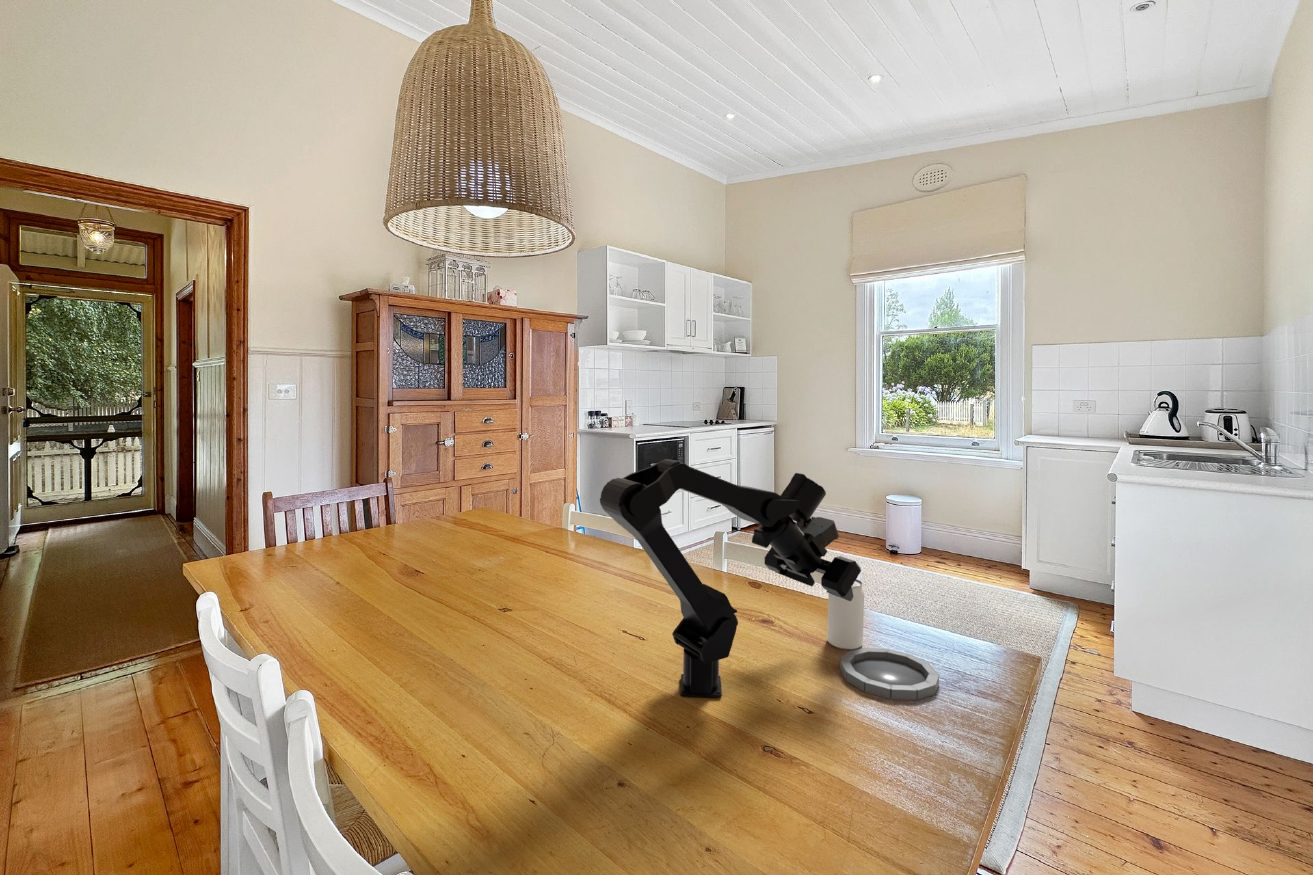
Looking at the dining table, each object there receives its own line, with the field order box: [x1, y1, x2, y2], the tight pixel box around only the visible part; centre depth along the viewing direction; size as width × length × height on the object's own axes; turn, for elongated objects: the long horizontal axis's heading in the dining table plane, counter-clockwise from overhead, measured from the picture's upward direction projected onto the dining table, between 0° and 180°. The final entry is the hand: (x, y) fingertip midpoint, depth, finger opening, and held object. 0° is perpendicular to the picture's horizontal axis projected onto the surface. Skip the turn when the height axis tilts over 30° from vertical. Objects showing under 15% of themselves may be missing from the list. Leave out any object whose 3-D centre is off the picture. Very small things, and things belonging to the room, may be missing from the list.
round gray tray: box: [839, 647, 940, 701], centre depth 101 cm, size 15×15×2 cm
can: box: [826, 578, 865, 651], centre depth 113 cm, size 6×6×12 cm
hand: (831, 591), depth 111 cm, fingers open, 9 cm apart
